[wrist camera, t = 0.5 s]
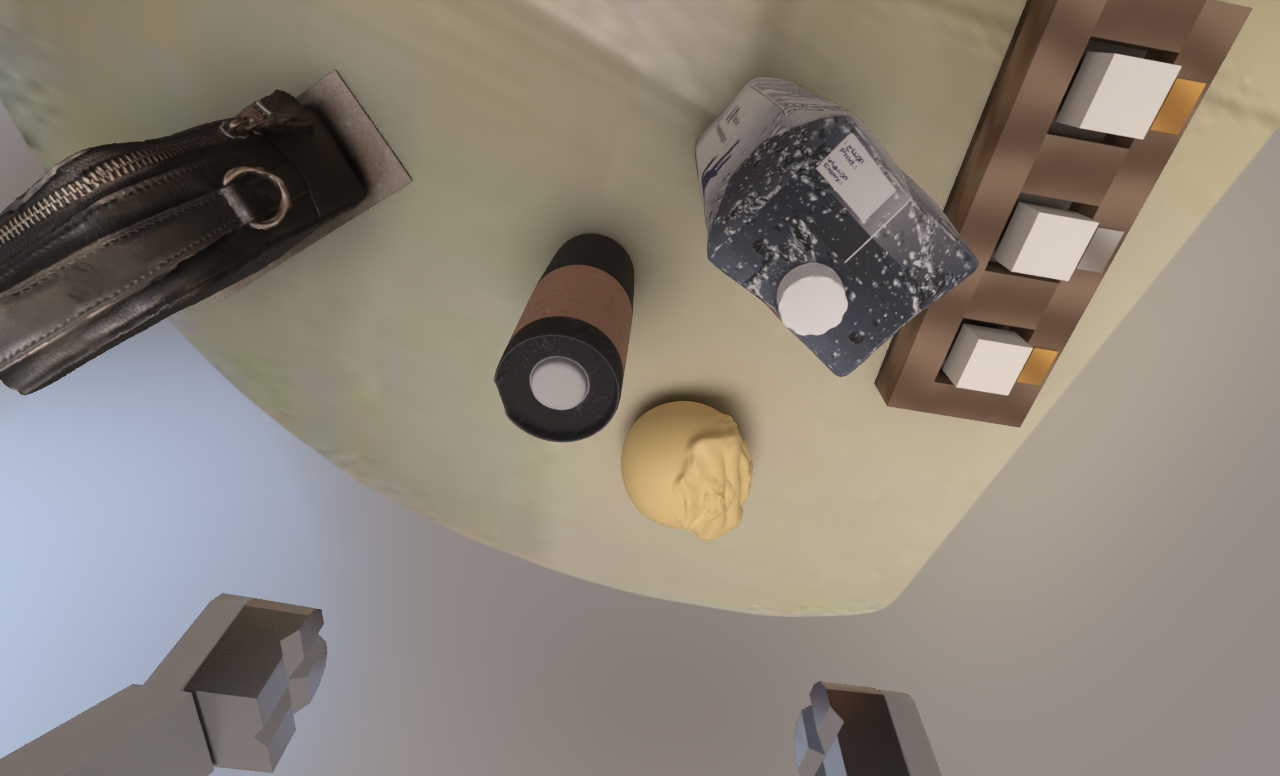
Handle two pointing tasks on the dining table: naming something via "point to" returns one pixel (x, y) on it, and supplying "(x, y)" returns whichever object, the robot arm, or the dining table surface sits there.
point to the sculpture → (687, 468)
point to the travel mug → (571, 343)
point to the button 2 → (1117, 94)
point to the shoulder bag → (177, 223)
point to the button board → (1052, 187)
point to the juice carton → (822, 221)
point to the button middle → (1045, 241)
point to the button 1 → (986, 359)
